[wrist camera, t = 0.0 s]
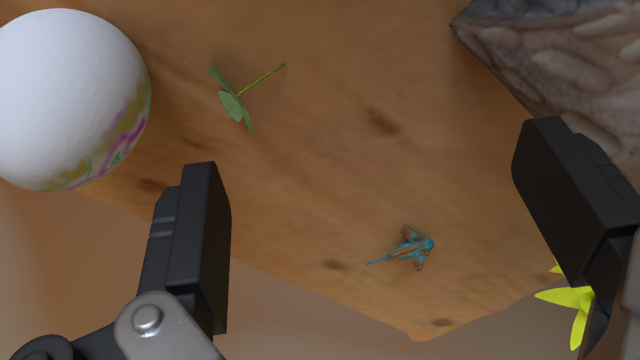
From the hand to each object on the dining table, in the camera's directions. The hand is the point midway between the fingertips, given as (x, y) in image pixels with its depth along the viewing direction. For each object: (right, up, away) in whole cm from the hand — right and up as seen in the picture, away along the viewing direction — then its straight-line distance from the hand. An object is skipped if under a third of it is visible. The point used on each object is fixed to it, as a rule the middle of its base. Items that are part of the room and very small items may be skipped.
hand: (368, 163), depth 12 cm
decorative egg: (-22, +11, +28) cm, 37 cm away
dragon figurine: (+10, -9, +53) cm, 55 cm away
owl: (+17, +15, +29) cm, 37 cm away
